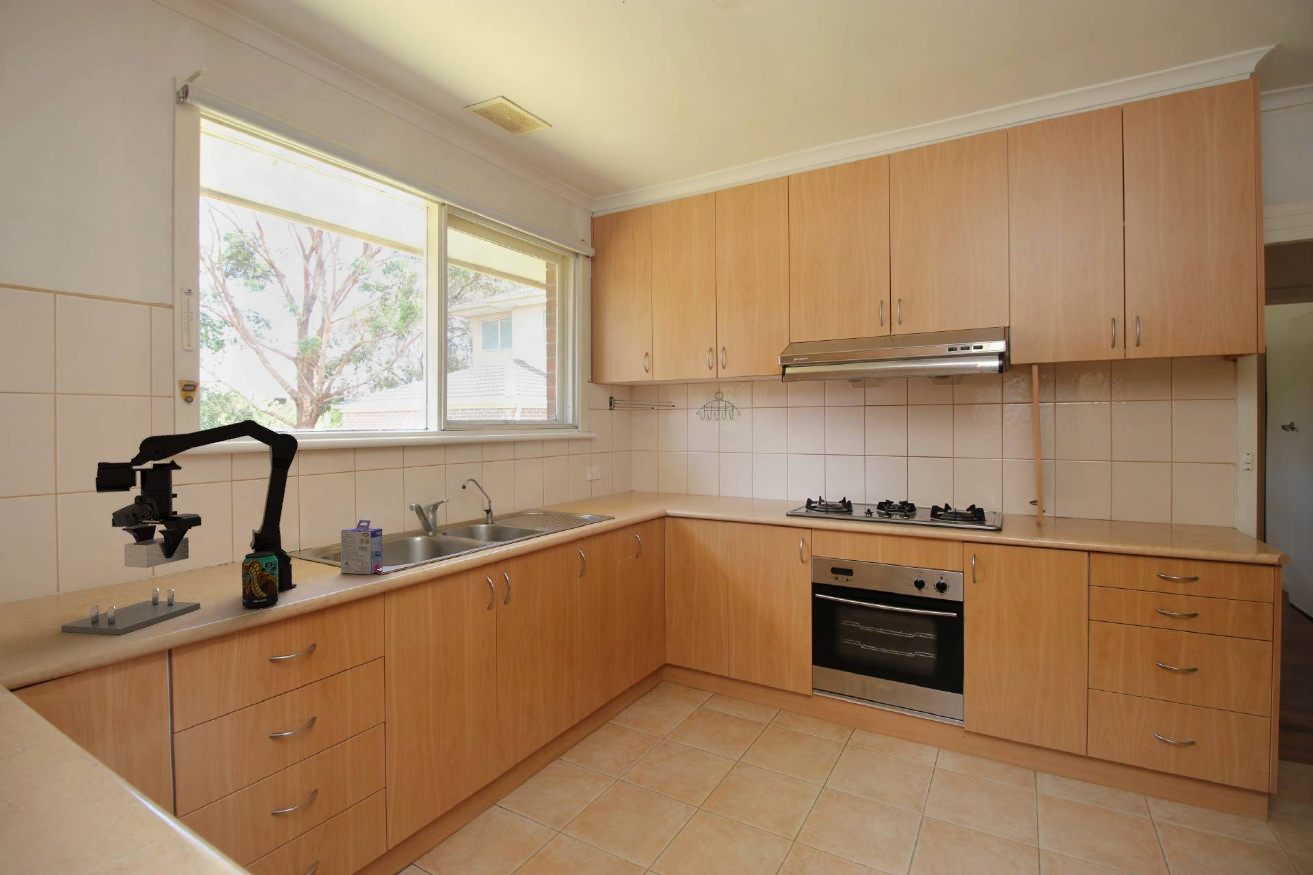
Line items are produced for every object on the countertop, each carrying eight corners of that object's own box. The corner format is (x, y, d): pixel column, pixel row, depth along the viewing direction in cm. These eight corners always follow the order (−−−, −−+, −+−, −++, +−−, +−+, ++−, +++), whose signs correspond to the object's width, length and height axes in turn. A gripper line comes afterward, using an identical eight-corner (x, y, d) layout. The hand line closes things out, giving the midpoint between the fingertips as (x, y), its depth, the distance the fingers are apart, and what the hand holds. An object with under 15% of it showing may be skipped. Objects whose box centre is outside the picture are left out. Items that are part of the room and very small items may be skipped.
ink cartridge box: (384, 570, 177) (383, 520, 177) (371, 575, 172) (370, 523, 171) (353, 568, 179) (352, 518, 179) (340, 573, 174) (339, 522, 173)
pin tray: (200, 608, 141) (199, 587, 141) (120, 634, 123) (119, 611, 123) (147, 605, 143) (147, 585, 143) (61, 631, 126) (60, 608, 126)
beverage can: (240, 611, 139) (239, 558, 138) (244, 603, 145) (243, 552, 144) (277, 607, 142) (276, 555, 141) (279, 599, 148) (278, 549, 148)
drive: (188, 558, 147) (188, 536, 147) (146, 567, 138) (146, 544, 137) (167, 557, 148) (167, 535, 148) (124, 566, 139) (124, 543, 139)
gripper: (85, 493, 136) (86, 563, 137) (155, 495, 133) (157, 567, 133) (136, 487, 147) (137, 553, 148) (203, 489, 144) (203, 556, 144)
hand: (157, 557), depth 143 cm, fingers closed on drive, 6 cm apart
